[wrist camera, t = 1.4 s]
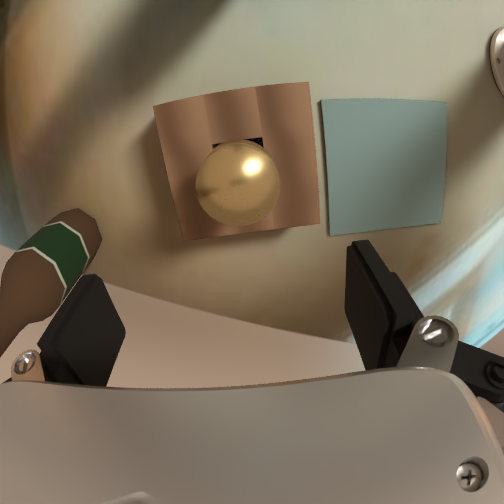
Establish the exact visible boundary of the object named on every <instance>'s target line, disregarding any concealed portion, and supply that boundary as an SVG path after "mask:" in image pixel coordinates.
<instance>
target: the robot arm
mask: <svg viewBox="0 0 504 504" xmlns="http://www.w3.org/2000/svg"><path fill="white" fill-rule="evenodd" d="M490 58H491V65H492V71H493V74H494V77H495V80H496V83H497V85H498V87H499V89H500V91H501V93H502V95H503V96H504V27H501V28H500V29H498V30H497V31H496V32H495V33H494V35H493V38H492V41H491V46H490ZM345 313H346V316H347V319H348V321H349V324H350V327H351V330H352V332H353V335H354V338H355V341H356V344H357V347H358V349H359V352H360V355H361V358H362V361H363V364H364V367H365V370H366V371H360V372H352V373H346V374H340V375H333V376H326V377H319V378H311V379H303V380H295V381H287V382H279V383H269V384H258V385H246V386H231V387H213V388H178V389H177V388H171V389H162V388H160V389H158V388H156V389H154V388H122V387H121V388H120V387H106V385H107V383H108V380H109V377H110V374H111V371H112V369H113V366H114V363H115V361H116V358H117V356H118V353H119V350H120V348H121V345H122V343H123V340H124V338H125V333H126V332H125V327H124V325H123V323H122V321H121V319H120V317H119V315H118V313H117V311H116V309H115V307H114V305H113V303H112V300H111V298H110V296H109V294H108V292H107V289H106V288H105V285H104V283H103V280H102V279H101V278H100V277H98V276H97V275H96V274H90V275H83V276H82V277H81V278H80V279H79V281H78V282H77V284H76V285H75V286H74V288H73V289H72V291H71V292H70V294H69V295H68V296H67V298H66V299H65V301H64V302H63V304H62V305H61V307H60V308H59V310H58V311H57V313H56V314H55V316H54V318H53V319H52V321H51V322H50V324H49V325H48V327H47V329H46V330H45V332H44V333H43V335H42V337H41V338H40V340H39V342H38V343H37V345H38V346H39V348H40V349H41V353H40V354H39V353H38V352H37V351H36V350H27V351H25V352H23V353H21V354H20V355H19V356H18V357H17V358H16V359H15V360H14V362H13V364H12V367H11V376H12V377H11V378H9V379H8V380H6V381H5V382H3V383H2V384H0V504H504V357H501V356H498V355H495V354H493V353H490V352H488V351H485V350H482V349H480V348H477V347H474V346H472V345H469V344H466V343H464V342H461V341H458V339H459V333H458V330H457V328H456V326H455V325H454V324H453V323H452V322H451V321H449V320H448V319H446V318H443V317H440V316H427V317H424V316H423V314H422V313H421V311H420V310H419V308H418V306H417V305H416V303H415V302H414V300H413V298H412V297H411V295H410V294H409V292H408V291H407V289H406V288H405V286H404V285H403V283H402V282H401V280H400V279H399V277H398V276H397V274H396V273H395V272H390V271H389V269H388V268H387V266H386V265H385V263H384V262H383V261H382V259H381V258H380V256H379V255H378V253H377V252H376V250H375V249H374V247H373V246H372V245H371V243H370V242H369V240H360V241H353V242H352V244H351V246H348V247H347V259H346V288H345Z"/></svg>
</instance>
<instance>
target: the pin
mask: <svg viewBox="0 0 504 504" xmlns="http://www.w3.org/2000/svg"><path fill="white" fill-rule="evenodd" d="M196 194H197V198H198V200H199V203H200V205H201V206H202V208H203V209H204V210H205V212H206V213H207V214H208V215H209V216H211V217H212V218H213V219H215V220H217V221H218V222H221V223H223V224H227V225H231V226H245V225H250V224H253V223H256V222H258V221H260V220H261V219H263V218H264V217H266V216H267V215H268V214H269V213H270V212H271V211H272V209H273V208H274V207H275V205H276V203H277V201H278V198H279V194H280V179H279V175H278V172H277V169H276V166H275V163H274V160H273V158H272V157H271V155H270V154H269V153H268V152H267V151H266V150H265V149H264V148H263V147H262V146H260V145H259V144H257V143H254V142H252V141H249V140H241V139H237V140H230V141H227V142H224V143H222V144H220V145H218V146H217V147H215V148H214V149H213V150H212V151H211V152H210V153H209V155H208V156H207V158H206V159H205V161H204V162H203V164H202V166H201V167H200V169H199V171H198V174H197V178H196Z"/></svg>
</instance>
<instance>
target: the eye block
mask: <svg viewBox="0 0 504 504" xmlns="http://www.w3.org/2000/svg"><path fill="white" fill-rule="evenodd" d="M153 109H154V114H155V119H156V124H157V129H158V134H159V139H160V144H161V148H162V153H163V157H164V162H165V166H166V171H167V175H168V179H169V184H170V188H171V192H172V196H173V200H174V204H175V208H176V212H177V216H178V220H179V224H180V228H181V232H182V236H183V239H184V241H188V240H196V239H203V238H211V237H218V236H226V235H233V234H241V233H249V232H257V231H265V230H273V229H281V228H289V227H297V226H306V225H314V224H320V207H319V189H318V175H317V161H316V149H315V138H314V127H313V117H312V108H311V99H310V91H309V82H298V83H286V84H275V85H266V86H257V87H249V88H242V89H235V90H229V91H222V92H217V93H211V94H206V95H200V96H195V97H190V98H186V99H181V100H176V101H172V102H168V103H164V104H160V105H156V106H153ZM258 137H262V144H263V148H264V149H265V150H266V151H267V152H268V153H269V154H270V155H271V157H272V158H273V160H274V163H275V166H276V169H277V172H278V175H279V179H280V194H279V198H278V201H277V203H276V205H275V207H274V208H273V209H272V211H271V212H270V213H269V214H268V215H267V216H266V217H264V218H263V219H261V220H260V221H258V222H256V223H253V224H250V225H245V226H231V225H227V224H223V223H221V222H218V221H217V220H215V219H213V218H212V217H211V216H209V215H208V214H207V213H206V212H205V210H204V209H203V208H202V206H201V205H200V203H199V200H198V198H197V194H196V178H197V174H198V171H199V169H200V167H201V166H202V164H203V162H204V161H205V159H206V158H207V156H208V155H209V153H210V152H211V151H212V150H213V149H214V148H215V147H217V146H218V145H219V144H218V143H224V142H227V141H230V140H237V139H241V140H244V139H251V138H258Z"/></svg>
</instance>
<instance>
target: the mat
mask: <svg viewBox="0 0 504 504" xmlns="http://www.w3.org/2000/svg"><path fill="white" fill-rule="evenodd" d="M321 109H322V119H323V130H324V142H325V155H326V169H327V187H328V209H329V235H330V236H334V235H342V234H351V233H359V232H367V231H376V230H384V229H393V228H401V227H410V226H419V225H427V224H436V223H441V218H442V210H443V201H444V191H445V178H446V162H447V103H446V102H435V101H422V100H405V99H331V100H321Z"/></svg>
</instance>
